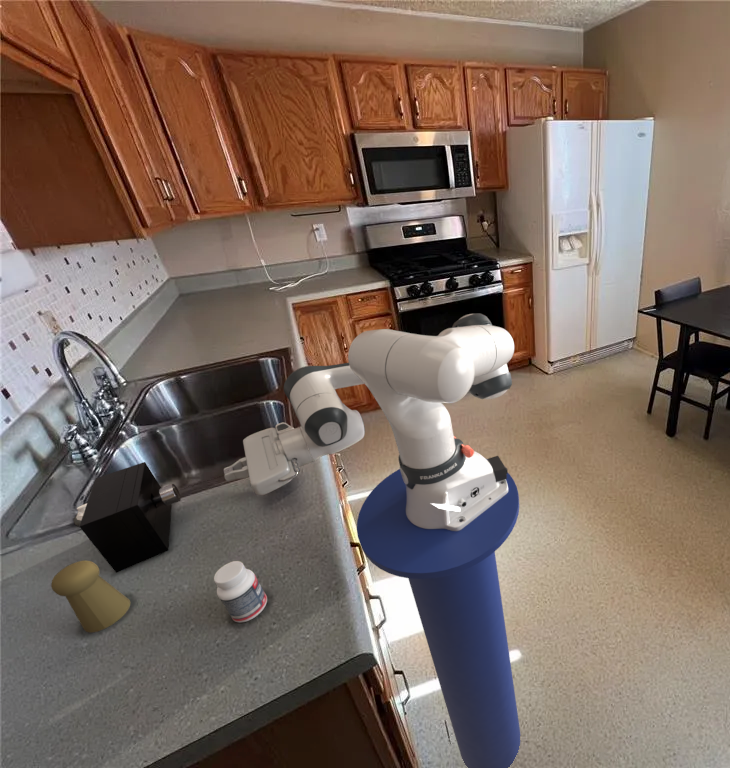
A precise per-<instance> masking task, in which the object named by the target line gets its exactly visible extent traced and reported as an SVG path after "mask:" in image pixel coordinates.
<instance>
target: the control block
mask: <svg viewBox="0 0 730 768" xmlns="http://www.w3.org/2000/svg"><path fill="white" fill-rule="evenodd" d="M160 488H162V487H161V485H160V483H159V482H158V480H157V478H156V477H155V476H154V474H153V472H152V470H151V468H150V467H149V466H148V464H147V462H146V461H143V462H140V463H138V464H134V465H132V466H128V467H125V468H123V469H119V470H116V471H113V472H110V473H107V474H104V475H102V476H99V477H96V478H95V479H94V482H93V485H92V488H91V490H90V494H89V497H88V500H87V505H86V508H85V511H84V514H83V517H82V520H81V523H80V526H78V527H79V528H80V530H81V531H82V532H83V534H84V535H85V536H86V537H87V539H89V541H90V542H91V543H92V545H93V546H94V547H95V548H96V550H97V551H98V553H100V555H101V556H102V557H103V559H104V560H105V561H106V562H107V563H108V565H109V566H110V567H111V569H112V570H113V571H114V572H115V574H117V573H119V572H122V571H124V570H126V569H130V568H132V567H133V566H136V565H138V564H140V563H143V562H145V561H148V560H149V559H153V558H156V557H158V556H160V555H162V554H164V553H166V552H168V551H169V550H170V548H169V547H170V534H171V521H172V520H171V519H172V505H173V504H171V505H168V506H166V505H165V504H164V503H163V501H162V502H159V503H157V504H153V503H152V501H151V500H150V499H151V498H153V497H156V496H158V495H160V494H159V489H160Z"/></svg>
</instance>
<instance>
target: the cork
mask: <svg viewBox="0 0 730 768" xmlns="http://www.w3.org/2000/svg"><path fill="white" fill-rule="evenodd" d="M50 586H51V590H52V592H54V593H55V594H56V595H58V596H59V597H65V599H66V600H67V602H68V603H69V605H70V607H71V609H72V611H73V612H74V614H75V616H76V618H77V619H78V622H79V623H80V625H81V627H82V628H83V630H84V631H85V632H86V633H91V634H92V633H97V632H101V631H103V630H106V629H107V628H108V627H109V628H110V627H111V626H112V625H114V624H115V623H117V622H118V621H119V620H120V619H122V618H123V617H124V616H125V615H126V613H127V612H128V611H129V609H130V606H131V600H130V599H129V598H128V597H127V596H125V595H124V594H123V593H121V592H120V591H119V590H118V589H117V588H116V587H114V586H113V585H112V584H110V583H109V582H108V581H106V580H105V579H104V578H103V577H101V576H100V568H99V566H98V565H97V564H96V563H95V562H93V561H91V560H79V561H76V562H73V563H71V564H69V565H66V566H65V567H64V568H62V569H61V570H60V571H58V572H57V573H56V574H55V575H54V576H53V577H52V580H51V583H50Z"/></svg>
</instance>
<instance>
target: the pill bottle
mask: <svg viewBox="0 0 730 768" xmlns="http://www.w3.org/2000/svg"><path fill="white" fill-rule="evenodd" d="M213 581H214V583H215V585H216V586H217V588H216V595H217V598H218V599H219V600H220V602H221V603H222V604H223V607H225V609H226V611H227V613H228V614H229V616H230V618H231V619H232V620H233V622H235V623H238V624H239V623H245V622H249V621H251V620H253V619H254V618H256V617H257V616H259V615H260V614H261V613H262V611H263V610H264V609H265V607H266V606H267V603H268V596H267V594H266V592H265V590H264V589H263V587H262V585H261V583H260V582H259V579H258V578H257V576H256V574H255V573H254V571H252V570H251V569H249V568H246V566H245V565H244V563H243V562H242V561H240V560H233V561H230V562H227V563H226V564H224V565H222V566H221V567H219V569H218V570H217V571H216V572H215V573H214V576H213Z"/></svg>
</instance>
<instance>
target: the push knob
mask: <svg viewBox="0 0 730 768" xmlns="http://www.w3.org/2000/svg"><path fill="white" fill-rule="evenodd" d="M159 494H160V495H158V496H156V497H153V498H151V499H150V500H151V501H152V503H153V504H157V503H159V502H162V501H163V503H164V504H165V505H166V506H168V505H171V504H172V505H173V504H176V503H178V502H181V499H182V497H181V493H180V491H179V489H178V487H177V485H176V484H174V483H171V484H168V485H166V486H163V487H161V488H160V489H159Z"/></svg>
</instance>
